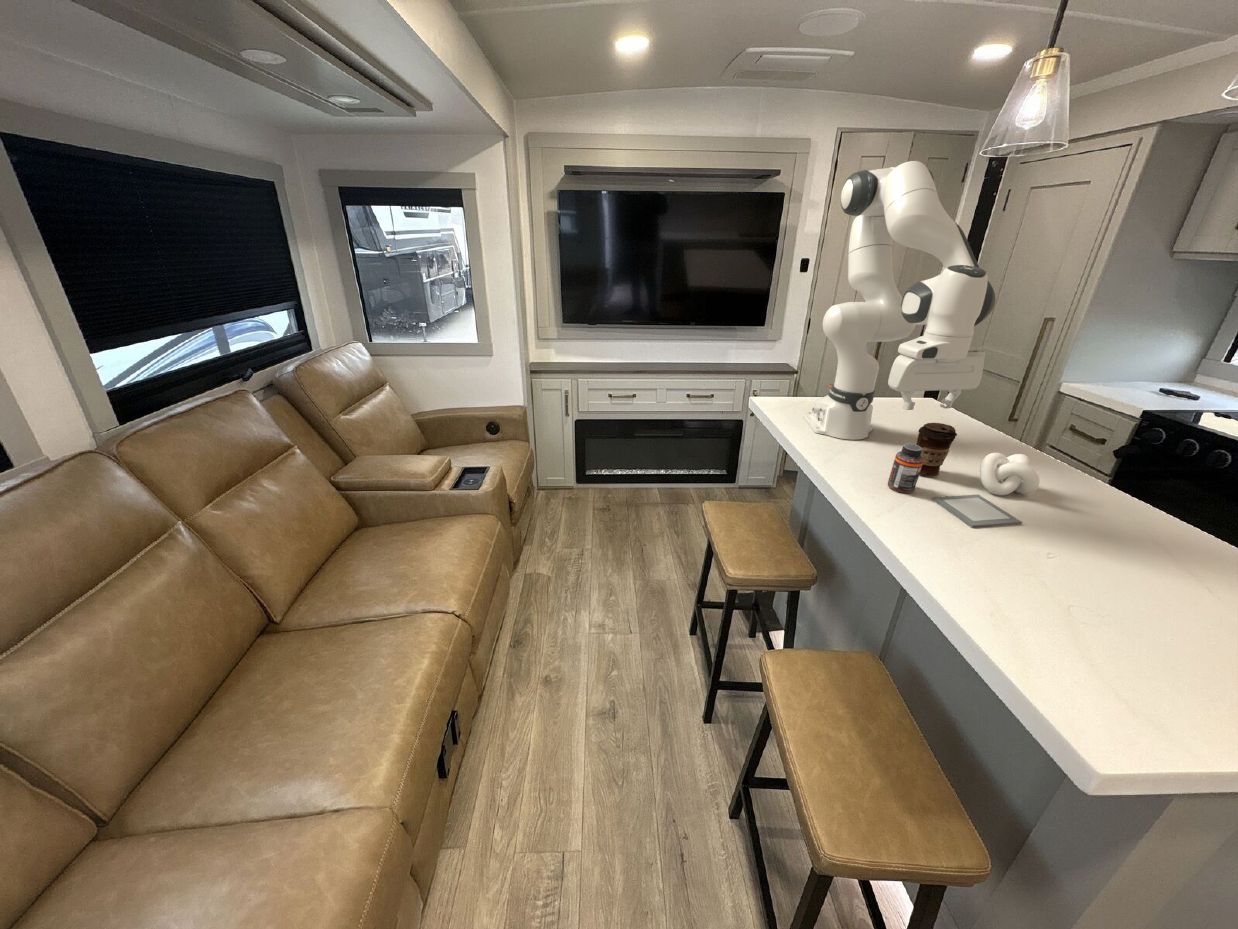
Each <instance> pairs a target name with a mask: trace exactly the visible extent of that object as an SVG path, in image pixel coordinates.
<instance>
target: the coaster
mask: <svg viewBox="0 0 1238 929" xmlns="http://www.w3.org/2000/svg"><path fill="white" fill-rule="evenodd" d="M931 500H932V501H934V502H935V503H936V504H938V505H939V506H941V507H942V508H943V509H945V510H946V511H948V512H949V513H950V514H952V515H953V516H955V517H956V518H958V519H959V520H960V521H961V522H963V523H964V524H966V525H967V526H968V527H970V528H971V529H973V528H974V529H975V528H987V527H988V528H989V527H1001V526H1012V525H1013V526H1014V525H1022V523H1023V521H1022V520H1020V519H1018V518H1017V517H1015V516H1013V515H1012V514H1010V513H1009V512H1008V511H1005V510H1004V509H1003V508H1001V507H999V506H997V505H996V504H995V503H993V502H991V501H990V500H988V499H986V498H985V497H983V496H982V495H980V494H977V493H976V494H965V495H964V494H963V495H949V496H936V497H935V496H934V497H932V499H931Z"/></svg>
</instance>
